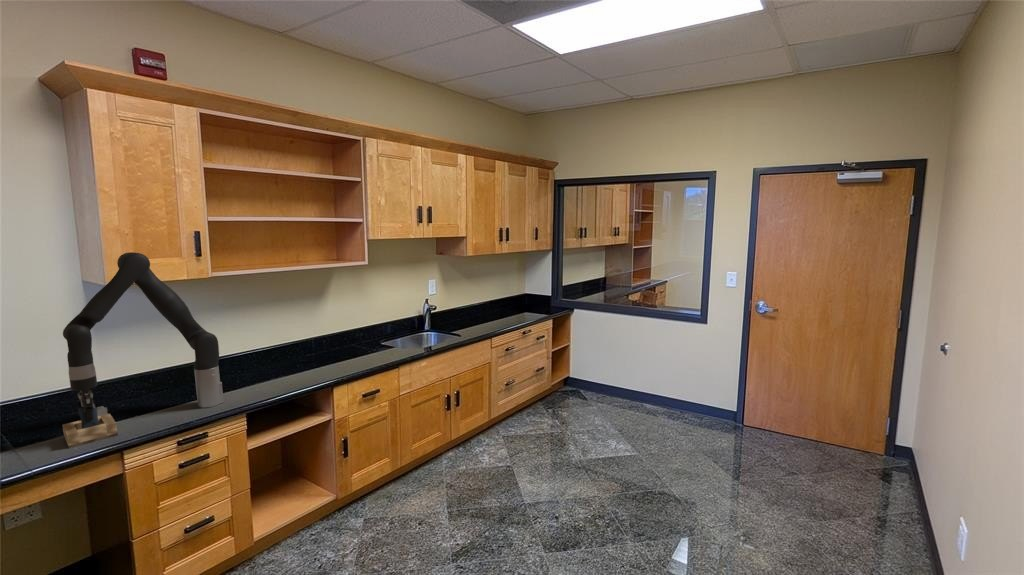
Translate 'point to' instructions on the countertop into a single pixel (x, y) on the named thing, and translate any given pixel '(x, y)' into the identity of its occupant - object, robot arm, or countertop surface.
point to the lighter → (101, 411)
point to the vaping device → (84, 423)
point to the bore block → (89, 431)
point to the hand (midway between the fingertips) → (88, 419)
